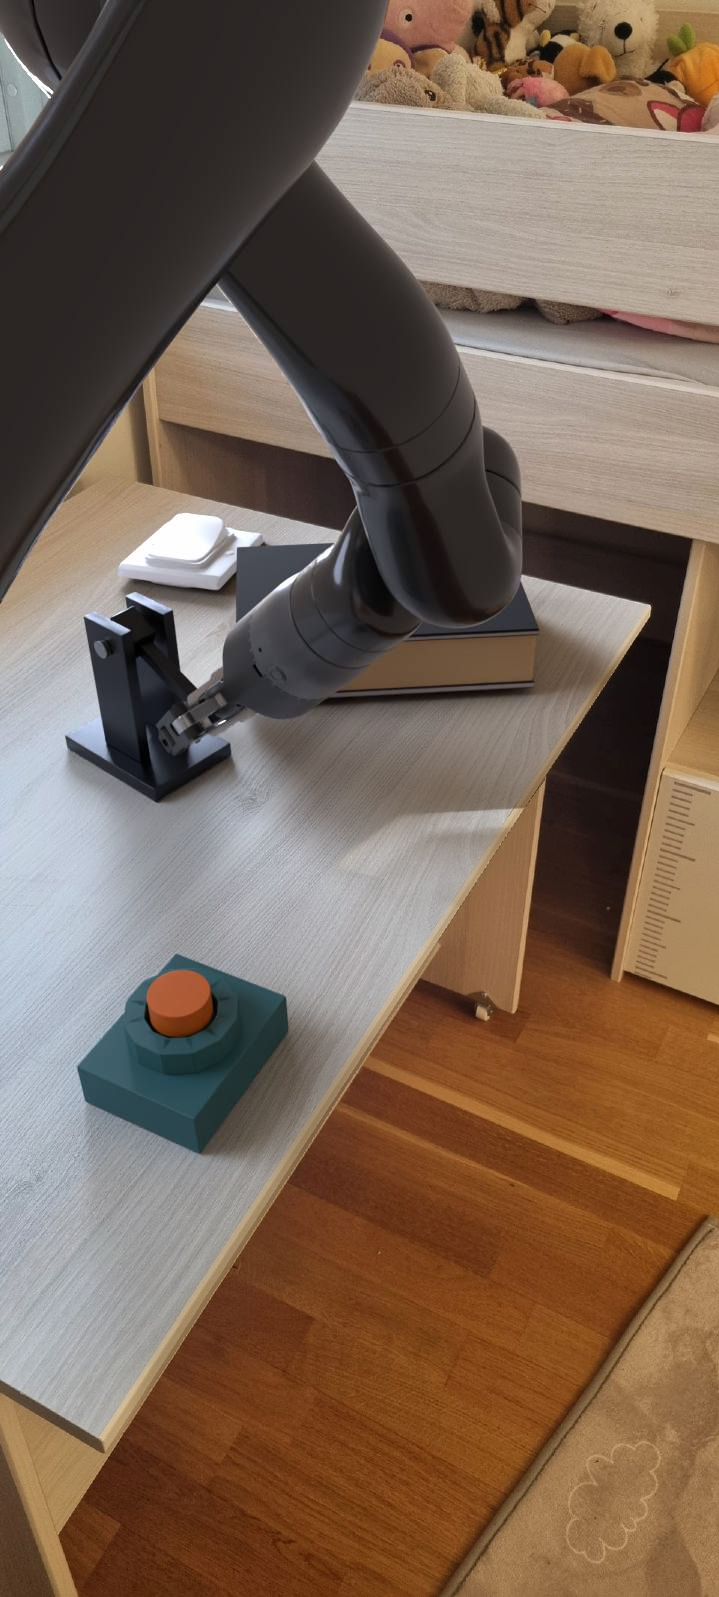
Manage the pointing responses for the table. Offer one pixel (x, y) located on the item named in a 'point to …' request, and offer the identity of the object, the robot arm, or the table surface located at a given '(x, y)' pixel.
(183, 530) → the light switch
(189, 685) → the switch lever
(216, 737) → the black pivot stand
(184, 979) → the power button
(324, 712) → the table surface
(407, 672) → the book
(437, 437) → the robot arm
